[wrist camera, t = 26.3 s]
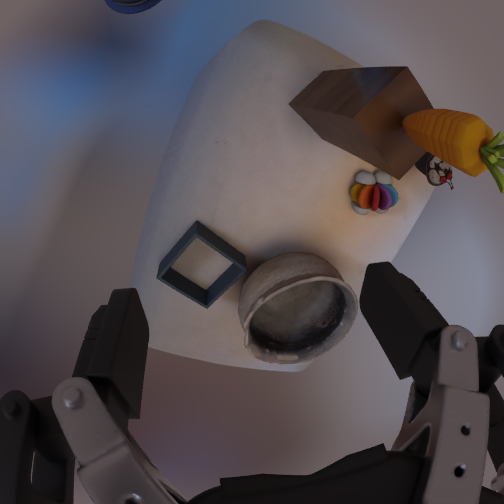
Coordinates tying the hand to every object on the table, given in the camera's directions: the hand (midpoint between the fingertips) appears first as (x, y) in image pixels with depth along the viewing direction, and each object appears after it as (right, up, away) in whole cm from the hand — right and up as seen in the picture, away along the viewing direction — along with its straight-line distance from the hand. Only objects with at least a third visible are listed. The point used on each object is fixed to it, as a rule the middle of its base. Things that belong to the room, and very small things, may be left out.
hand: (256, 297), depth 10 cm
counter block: (+12, +27, +35) cm, 46 cm away
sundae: (+32, +22, +42) cm, 57 cm away
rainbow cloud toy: (+23, +14, +45) cm, 53 cm away
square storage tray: (-10, 0, +48) cm, 49 cm away
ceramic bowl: (+7, -4, +54) cm, 54 cm away
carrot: (+15, +15, +15) cm, 26 cm away
